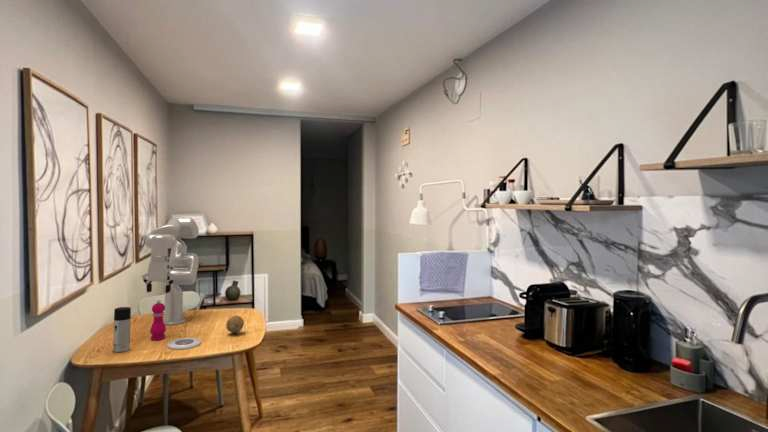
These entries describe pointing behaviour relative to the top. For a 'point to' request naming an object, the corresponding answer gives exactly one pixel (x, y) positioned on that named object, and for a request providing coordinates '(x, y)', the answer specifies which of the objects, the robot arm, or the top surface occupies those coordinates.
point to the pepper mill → (158, 322)
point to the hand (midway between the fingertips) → (158, 292)
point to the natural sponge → (235, 324)
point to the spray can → (121, 329)
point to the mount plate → (184, 343)
